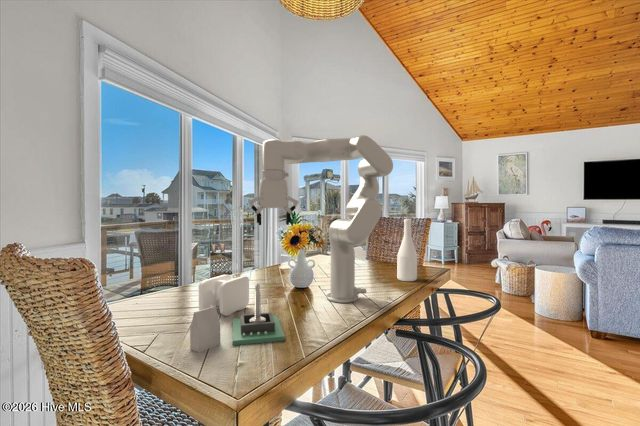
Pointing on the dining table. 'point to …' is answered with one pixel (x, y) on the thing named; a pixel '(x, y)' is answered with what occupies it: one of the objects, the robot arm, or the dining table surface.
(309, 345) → the dining table surface
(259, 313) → the screw
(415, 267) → the wine bottle
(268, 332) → the board
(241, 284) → the cable organizer
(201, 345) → the tea bag
